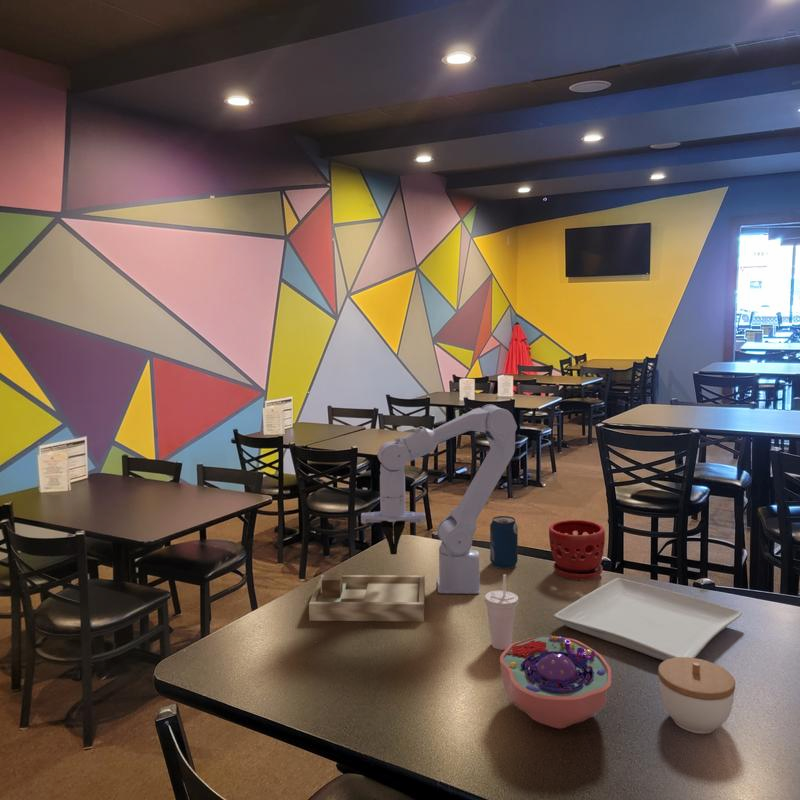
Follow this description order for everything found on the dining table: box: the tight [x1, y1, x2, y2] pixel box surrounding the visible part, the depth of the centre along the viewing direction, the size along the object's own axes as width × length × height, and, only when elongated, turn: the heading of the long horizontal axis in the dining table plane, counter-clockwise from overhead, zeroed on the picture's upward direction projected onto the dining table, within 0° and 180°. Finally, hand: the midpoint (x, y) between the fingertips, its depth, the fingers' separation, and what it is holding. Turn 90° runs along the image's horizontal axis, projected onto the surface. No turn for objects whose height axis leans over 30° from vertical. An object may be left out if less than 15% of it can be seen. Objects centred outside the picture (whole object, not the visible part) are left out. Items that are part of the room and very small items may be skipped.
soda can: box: [489, 515, 519, 570], centre depth 169 cm, size 7×7×12 cm
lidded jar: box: [657, 657, 736, 735], centre depth 101 cm, size 11×11×9 cm
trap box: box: [308, 574, 426, 622], centre depth 146 cm, size 24×16×4 cm, turn 87°
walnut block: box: [322, 572, 343, 598], centre depth 146 cm, size 4×4×4 cm
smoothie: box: [484, 573, 519, 651], centre depth 126 cm, size 6×6×14 cm
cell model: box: [499, 635, 612, 729], centre depth 104 cm, size 17×20×11 cm
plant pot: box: [548, 519, 606, 581], centre depth 162 cm, size 13×13×12 cm
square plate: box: [553, 577, 743, 662], centre depth 133 cm, size 27×27×4 cm
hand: (393, 552), depth 152 cm, fingers closed
